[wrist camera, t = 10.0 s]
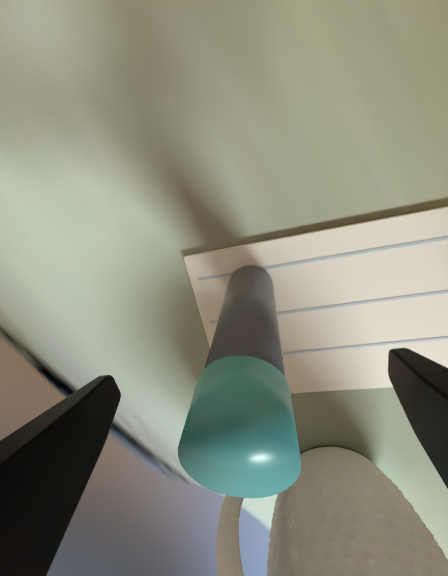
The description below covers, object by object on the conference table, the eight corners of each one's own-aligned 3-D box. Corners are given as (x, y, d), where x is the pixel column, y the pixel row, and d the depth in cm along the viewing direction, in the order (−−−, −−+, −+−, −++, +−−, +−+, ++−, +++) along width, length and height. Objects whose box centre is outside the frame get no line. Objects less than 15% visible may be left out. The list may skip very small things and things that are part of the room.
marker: (270, 259, 14) (293, 416, 5) (277, 303, 15) (306, 499, 6) (222, 268, 14) (162, 421, 5) (232, 309, 16) (195, 497, 6)
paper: (481, 199, 12) (487, 200, 12) (454, 379, 16) (457, 383, 15) (184, 255, 15) (183, 257, 15) (224, 394, 19) (224, 398, 19)
